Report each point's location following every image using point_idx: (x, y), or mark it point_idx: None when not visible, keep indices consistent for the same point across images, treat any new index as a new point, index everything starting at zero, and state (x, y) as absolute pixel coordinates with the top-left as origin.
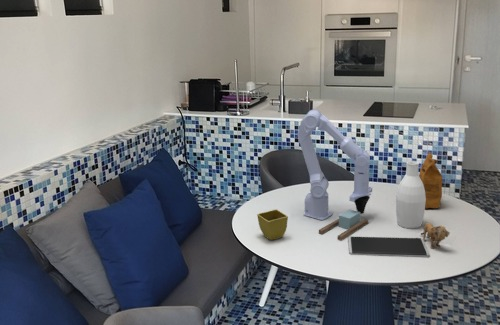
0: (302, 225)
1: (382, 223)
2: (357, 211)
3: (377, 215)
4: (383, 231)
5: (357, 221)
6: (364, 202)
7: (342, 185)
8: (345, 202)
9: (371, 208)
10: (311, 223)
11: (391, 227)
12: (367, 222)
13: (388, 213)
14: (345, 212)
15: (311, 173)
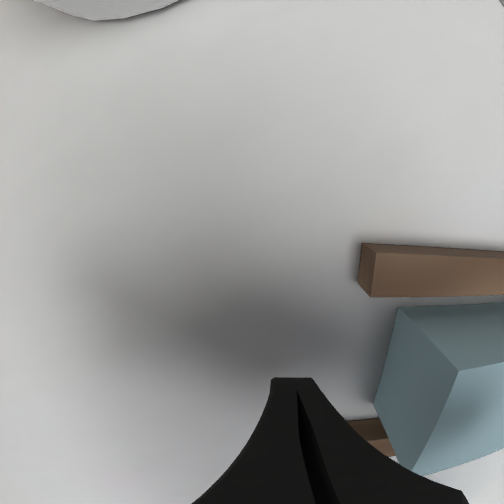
0: (491, 476)
1: (273, 112)
2: (445, 408)
3: (106, 262)
4: (435, 47)
5: (461, 320)
6: (378, 486)
7: (5, 498)
8: (100, 497)
9: (36, 363)
10: (469, 477)
11: (312, 7)
12: (385, 247)
13: (19, 200)
14: (487, 449)
15: None
